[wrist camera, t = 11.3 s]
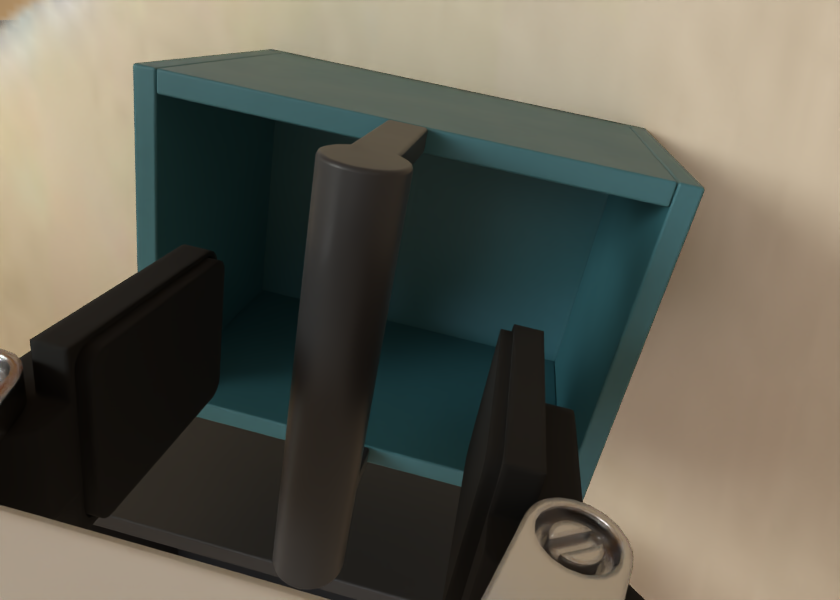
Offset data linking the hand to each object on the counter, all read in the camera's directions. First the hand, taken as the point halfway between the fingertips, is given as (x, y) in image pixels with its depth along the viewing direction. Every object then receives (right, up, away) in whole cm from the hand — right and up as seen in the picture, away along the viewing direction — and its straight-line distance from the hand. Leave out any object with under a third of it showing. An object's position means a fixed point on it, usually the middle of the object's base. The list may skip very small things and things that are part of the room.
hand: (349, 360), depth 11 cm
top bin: (+2, +4, +8) cm, 9 cm away
